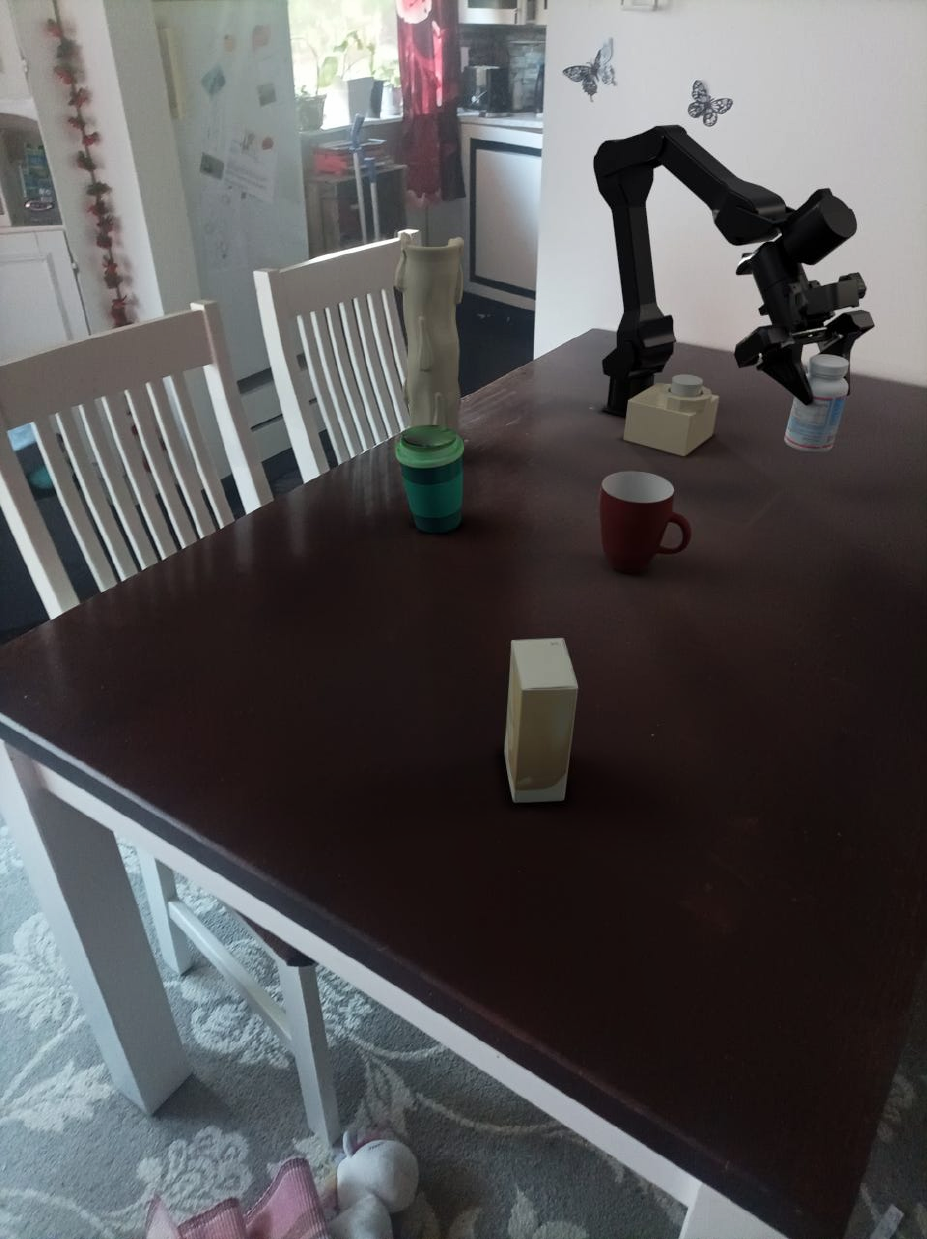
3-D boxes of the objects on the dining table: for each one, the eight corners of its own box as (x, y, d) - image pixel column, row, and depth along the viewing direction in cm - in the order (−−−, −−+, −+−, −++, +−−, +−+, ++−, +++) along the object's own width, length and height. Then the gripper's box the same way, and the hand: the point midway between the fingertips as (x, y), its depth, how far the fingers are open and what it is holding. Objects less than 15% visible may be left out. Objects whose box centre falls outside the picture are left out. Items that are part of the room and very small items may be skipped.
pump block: (623, 439, 131) (629, 388, 127) (653, 420, 138) (660, 370, 133) (688, 457, 126) (697, 404, 121) (716, 436, 133) (726, 385, 128)
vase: (394, 461, 124) (385, 235, 107) (419, 439, 130) (414, 223, 113) (449, 471, 121) (449, 241, 104) (472, 448, 128) (475, 228, 111)
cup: (475, 532, 107) (477, 440, 100) (416, 547, 104) (414, 454, 97) (444, 505, 113) (444, 417, 106) (387, 519, 109) (383, 429, 103)
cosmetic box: (503, 751, 75) (508, 636, 68) (552, 749, 75) (563, 634, 68) (512, 807, 70) (520, 688, 63) (566, 804, 70) (579, 685, 63)
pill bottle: (814, 434, 117) (837, 350, 110) (841, 452, 112) (866, 366, 105) (774, 437, 115) (794, 353, 109) (799, 456, 110) (822, 369, 104)
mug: (685, 555, 103) (699, 477, 97) (682, 590, 96) (697, 510, 91) (596, 543, 105) (604, 467, 99) (587, 577, 98) (596, 498, 93)
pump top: (664, 394, 126) (666, 380, 124) (677, 386, 129) (680, 372, 127) (692, 401, 124) (695, 386, 122) (705, 393, 126) (708, 378, 125)
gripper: (771, 256, 99) (820, 381, 98) (884, 242, 107) (932, 358, 105) (712, 309, 109) (756, 423, 108) (819, 292, 117) (862, 399, 115)
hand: (828, 400), depth 109 cm, fingers closed on pill bottle, 6 cm apart
